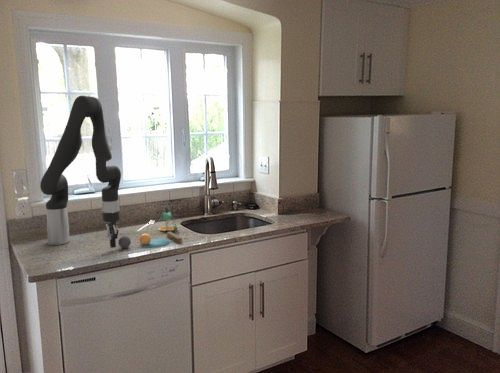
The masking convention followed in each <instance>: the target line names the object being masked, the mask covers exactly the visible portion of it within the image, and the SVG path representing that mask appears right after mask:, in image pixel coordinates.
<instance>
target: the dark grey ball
mask: <svg viewBox="0 0 500 373" xmlns="http://www.w3.org/2000/svg"><path fill="white" fill-rule="evenodd" d="M131 243H132V240H131V238H130V237H129V236H126V235H123V236H121V237H120V238H119V239H118V245H119V247H121V248H122V249H127V248H129V247H130V245H131Z"/></svg>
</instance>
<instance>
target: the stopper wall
mask: <svg viewBox="0 0 500 373" xmlns="http://www.w3.org/2000/svg"><path fill="white" fill-rule="evenodd" d="M166 237H167V238H168V239H169V240H171V241H173V242H175V243H176V244H178V245H180V244H183V238H182V237H181V236H179V235H177V233H173V231H166Z"/></svg>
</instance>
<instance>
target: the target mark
mask: <svg viewBox="0 0 500 373" xmlns="http://www.w3.org/2000/svg"><path fill="white" fill-rule="evenodd" d="M170 243H171V242H170V239H165V238H151V242H150V243H149V244H148V245H142V244H141V243H140V242H139V244H140V246H142V247H144V248H150V249H151V248H152V249H153V247H156V248H162V246H163V247H166V246H168V245H170Z"/></svg>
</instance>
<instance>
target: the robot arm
mask: <svg viewBox="0 0 500 373" xmlns="http://www.w3.org/2000/svg"><path fill="white" fill-rule="evenodd" d="M71 106H72V107H71V108H70V109H71V110H70V112H69V117H68V120H67V122H66V125H65V128H64V131H63V133H62V136H61V138H60V139H59V142H58V144H57V147H56V150H55V152H54V155H53V157H52V158H51V161H50V164H49V166H48V167H47V168H46V171H45V172H44V174H43V175H42V178H41V180H40V183H39V186H40V187H39V188H40V190H41V192H42V193H43V194H44V195H46V196H51V197H50V198H49V200H48V201H47V202H45V210H46V220H47V221H46V223H47V224H46V231H47V232H46V233H47V243H48V246H49V245H51V246H52V245H53V246H54V245H55V246H59V245H64V244H68V243H69V242H70V239H71V238H70V227H69V215H68V214H69V213H68V202H69V183H68V180H67V177H66V176H65V175H64V174H63V173H64V171H65V170H66V169H67V168H68V167H69V166H70V165H71V164H72V163H73V162H74V160H75V159H76V158H77V156H78V154H79V152H80V150H81V148H82V145H83V138H82V134H81V133H82V132H81V130H82V126H83V123H84V121H85V119H86V118H90V121H91V124H92V137H91V147H92V152H93V155H94V158H95V175H96V178H97V180H98V181H99V182H100V183H103V184H105V183H107V185H106V186H105V187H103V188H101V214H102V216H101V217H102V222H104V223H106V224H105V229H106V232H107V233H106V234H107V237H108V239H109V247H110V248H116V247H117V244H116V240H117V239H118V235H119V229H118V224H117V222H118V221H120V219H121V214H120V213H121V211H120V201H119V200H120V199H119V188H120V184H121V179H122V171H121V170H120V168H119V167H118V166H117V165H107V162H110V161H111V160H112V158H113V156H112V150H111V148H110V146H109V141H108V138H107V133H106V126H105V119H104V111H103V110H104V109H103V105H102V102H101V101H100V99H99V98H97V97H95V96H89V95H79V96H77V97H76V98H75V99H74V101H73V103H72V105H71Z"/></svg>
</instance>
